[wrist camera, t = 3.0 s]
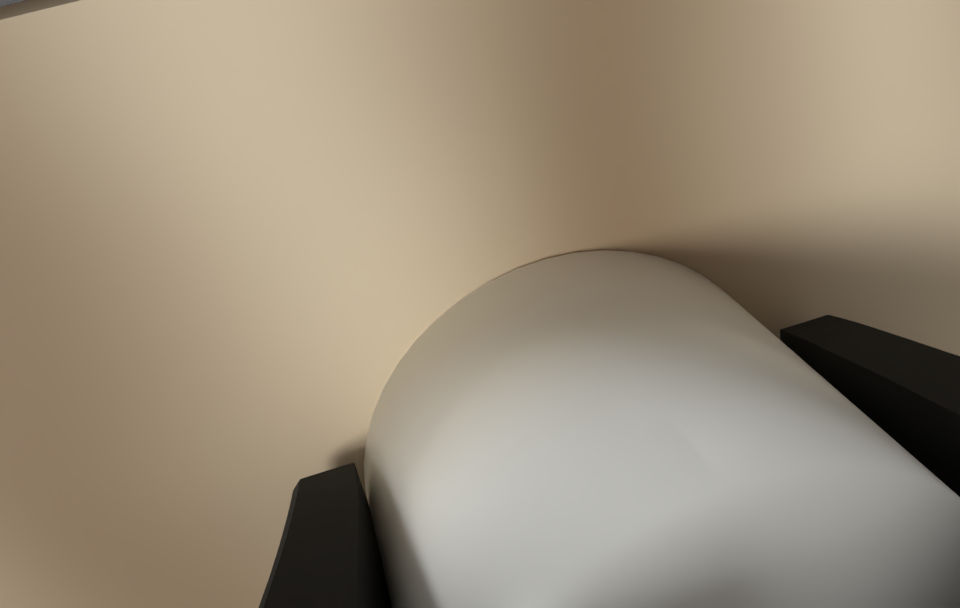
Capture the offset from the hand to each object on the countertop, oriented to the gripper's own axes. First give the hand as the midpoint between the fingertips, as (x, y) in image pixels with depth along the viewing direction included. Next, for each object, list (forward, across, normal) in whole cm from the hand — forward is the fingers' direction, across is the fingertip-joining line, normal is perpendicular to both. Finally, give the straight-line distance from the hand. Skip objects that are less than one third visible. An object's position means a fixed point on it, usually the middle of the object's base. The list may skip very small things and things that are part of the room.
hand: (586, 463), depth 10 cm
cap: (0, 0, 0) cm, 0 cm away
